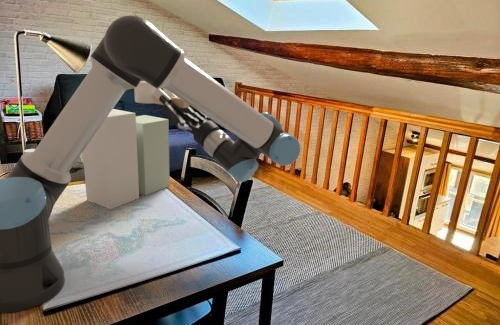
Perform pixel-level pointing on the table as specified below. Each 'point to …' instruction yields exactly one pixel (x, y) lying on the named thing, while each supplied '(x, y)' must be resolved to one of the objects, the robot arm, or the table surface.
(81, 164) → the game die
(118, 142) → the tall stand
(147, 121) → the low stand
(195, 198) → the table surface
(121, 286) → the table surface
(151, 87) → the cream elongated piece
